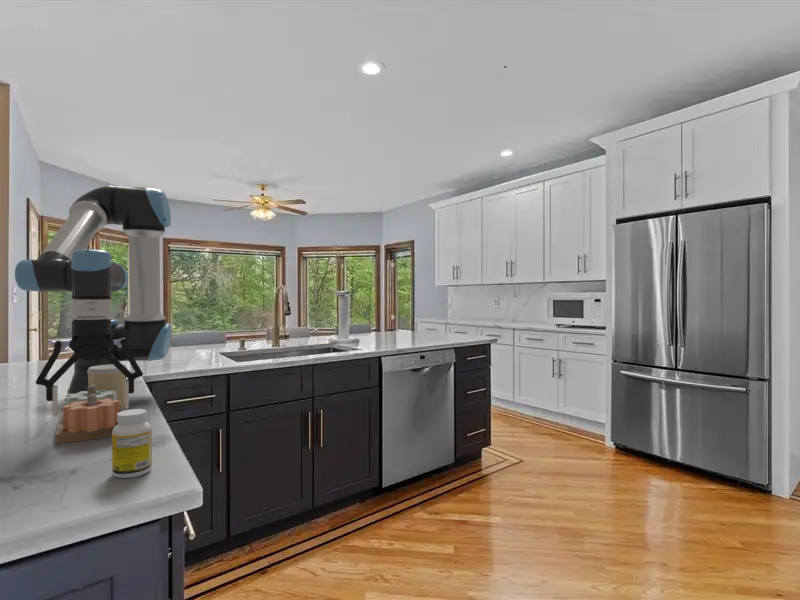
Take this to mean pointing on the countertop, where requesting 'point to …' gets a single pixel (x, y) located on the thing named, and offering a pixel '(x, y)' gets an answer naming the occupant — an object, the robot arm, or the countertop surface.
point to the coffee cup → (108, 380)
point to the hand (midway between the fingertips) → (92, 411)
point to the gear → (83, 395)
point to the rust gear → (90, 415)
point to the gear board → (66, 436)
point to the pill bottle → (131, 444)
